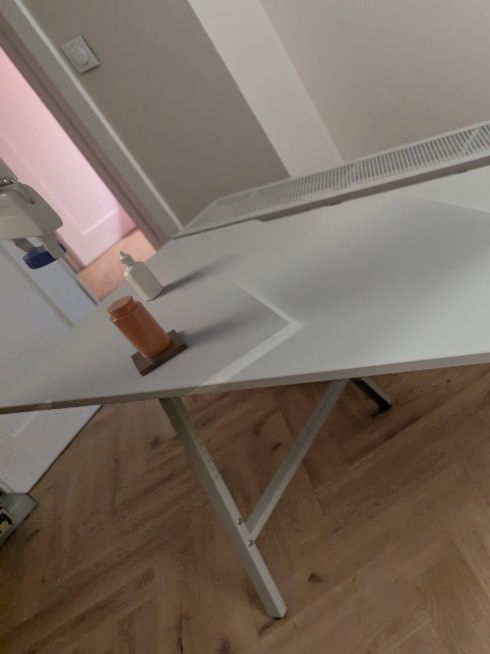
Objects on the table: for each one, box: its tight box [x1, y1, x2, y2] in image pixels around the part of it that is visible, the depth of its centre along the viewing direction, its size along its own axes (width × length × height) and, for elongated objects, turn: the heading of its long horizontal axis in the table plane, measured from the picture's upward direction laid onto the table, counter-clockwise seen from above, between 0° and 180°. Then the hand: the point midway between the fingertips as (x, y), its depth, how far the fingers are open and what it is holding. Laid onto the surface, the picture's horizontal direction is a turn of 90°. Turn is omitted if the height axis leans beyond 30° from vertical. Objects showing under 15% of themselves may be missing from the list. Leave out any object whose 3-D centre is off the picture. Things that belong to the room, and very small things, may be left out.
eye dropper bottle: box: [118, 250, 164, 302], centre depth 124 cm, size 4×6×12 cm
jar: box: [106, 295, 172, 358], centre depth 99 cm, size 6×6×11 cm
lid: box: [21, 239, 67, 270], centre depth 91 cm, size 6×6×2 cm
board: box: [130, 328, 188, 377], centre depth 102 cm, size 9×9×1 cm
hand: (48, 257), depth 92 cm, fingers closed on lid, 6 cm apart
